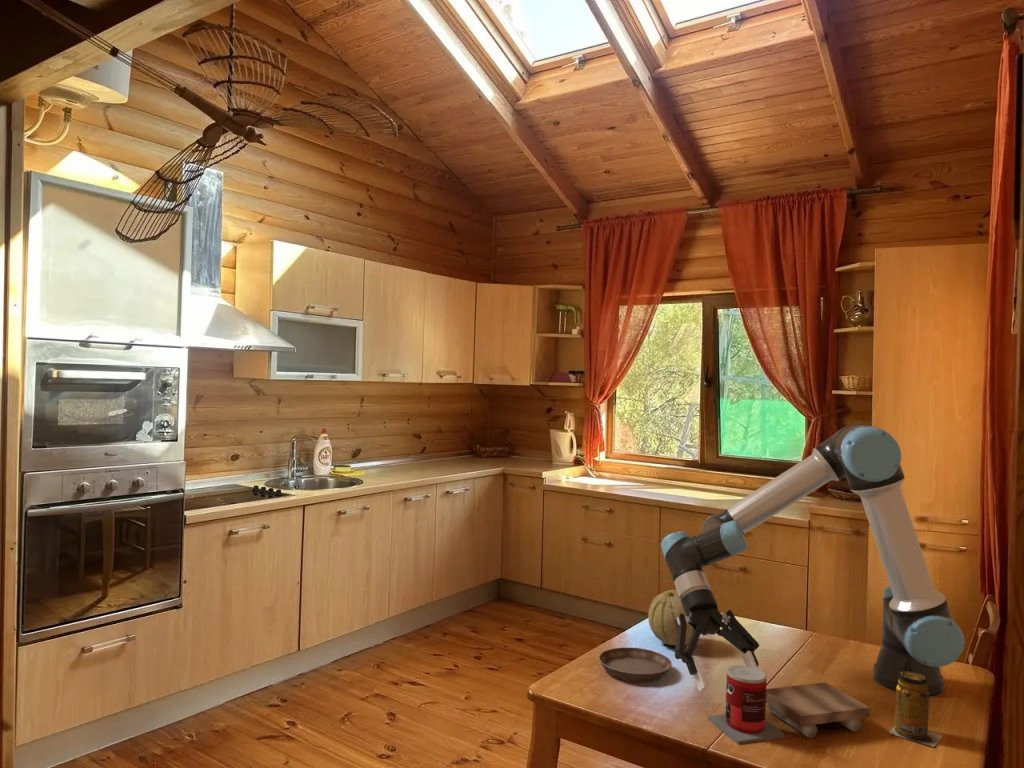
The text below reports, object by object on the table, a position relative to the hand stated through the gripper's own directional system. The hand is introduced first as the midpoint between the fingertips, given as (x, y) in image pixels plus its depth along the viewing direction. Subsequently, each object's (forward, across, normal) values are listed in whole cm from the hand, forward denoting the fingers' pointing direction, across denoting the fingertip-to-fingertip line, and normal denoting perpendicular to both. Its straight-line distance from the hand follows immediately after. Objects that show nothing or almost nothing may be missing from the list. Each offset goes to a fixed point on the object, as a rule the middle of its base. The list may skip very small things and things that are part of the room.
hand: (731, 686), depth 158 cm
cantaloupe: (-24, -11, -35) cm, 44 cm away
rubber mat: (+8, 0, -1) cm, 8 cm away
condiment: (+16, -33, +7) cm, 38 cm away
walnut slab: (+9, -16, 0) cm, 19 cm away
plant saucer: (-15, +8, -25) cm, 30 cm away
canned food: (+8, 0, -1) cm, 8 cm away
